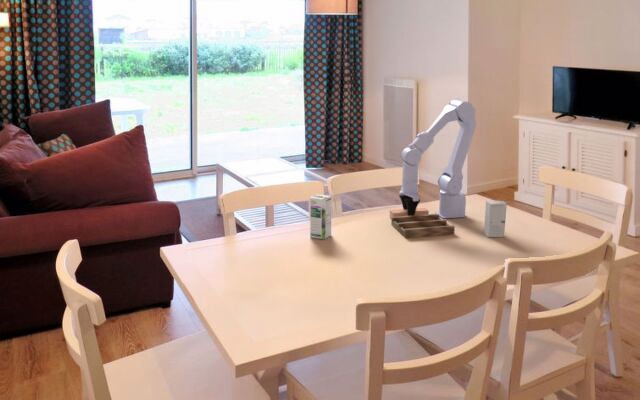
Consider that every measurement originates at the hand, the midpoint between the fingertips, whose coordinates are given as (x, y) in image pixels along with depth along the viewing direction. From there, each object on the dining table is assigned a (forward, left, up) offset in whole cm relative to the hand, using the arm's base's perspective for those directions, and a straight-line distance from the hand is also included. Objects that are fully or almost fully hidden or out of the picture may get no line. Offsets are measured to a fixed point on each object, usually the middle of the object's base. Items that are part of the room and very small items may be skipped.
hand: (409, 214), depth 248 cm
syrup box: (+37, +13, -2) cm, 39 cm away
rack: (0, +14, -1) cm, 14 cm away
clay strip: (0, 0, -2) cm, 2 cm away
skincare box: (-22, +26, -2) cm, 34 cm away
